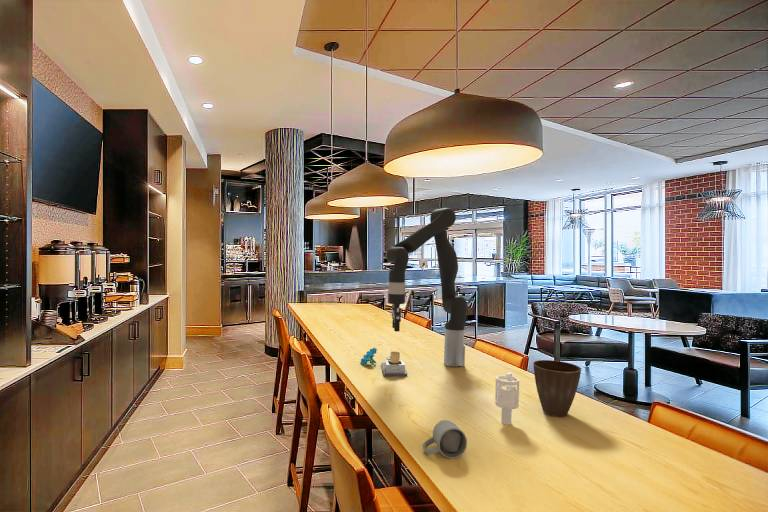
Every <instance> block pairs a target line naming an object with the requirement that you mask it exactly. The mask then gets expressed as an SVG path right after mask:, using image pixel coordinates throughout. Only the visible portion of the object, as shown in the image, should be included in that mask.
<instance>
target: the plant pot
mask: <svg viewBox="0 0 768 512" xmlns="http://www.w3.org/2000/svg"><path fill="white" fill-rule="evenodd" d="M532 367H533V372H534V373H533V374H534V380H535V381H534V382H535V386H536V391H537V395H538V399H539V402H540V405H541V409H542V411H543V413H544V414H546V415H548V416H550V417H551V416H552V417H555V416H558V417H557V418H564V417H563V416H565V417H567V415H568V413H569V411H570V410H571V407H572V404H573V402H574V400H575V396H576V394H577V390H578V387H579V384H580V383H579V382H580V379H581V373H582V368H581V367H580V366H578V365H576V364H574V363H570V362H567V361H566V362H565V361H562V360H561V361H559V360H554V359H551V360H550V359H541V360H540V359H539V360H536V361H534V362H533V363H532Z"/></svg>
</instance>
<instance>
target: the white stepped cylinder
mask: <svg viewBox="0 0 768 512" xmlns="http://www.w3.org/2000/svg"><path fill="white" fill-rule="evenodd" d="M503 387H506V389H505V388H503ZM494 395H495V398H494V402H495V403H494V404H495V406H496V407H498V408H501V413H500V414H501V420H500V421H501V422H500V423H501V424H503V425H506V426H507V425H508V426H509V425H512V413H513V412H512V411H513V410H516V409H518V408H519V404H520V403H519V401H520V399H519V398H520V379H519V378H518V377H516V376H513V373H512V372H509V371H508V372H507V373H506V375H504V374H503V375H497V376H496V377H495V394H494Z"/></svg>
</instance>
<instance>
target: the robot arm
mask: <svg viewBox="0 0 768 512" xmlns="http://www.w3.org/2000/svg"><path fill="white" fill-rule="evenodd" d="M429 218H430V221H429V222H430V223H428V224H427V225H424V226H422V227H420V228H418V229H416V230H415V231H413V232H412V233H410V234H409V235H408V236H407V237H406V238H404V239H403V240H402V241H401V240H400V242H398V243H396V244H394V245H392V246H391V247H389V249H388V250H387V252H386V260H387V261H388V262H390V263H393V264H394V265H393V268H391V269H390V270H389V273H388V287H387V288H388V289H387V303H388V304H390V305H391V308H390V309H391V318H392V326H391V327H392V328H393V329H394V332H400V328H401V327H400V326H401V325H400V324H401V322H402V320H401V319H402V308H401V307H400V305H405V303H406V271H407V267H408V263H409V258H410V257H409V254H411V253H414V252H416V251H417V250H418V249H420V248H421V247H422V246H423V245H425V244H426V243H427V242H429V240H431V239H432V238H434V244H435V248H436V250H435V251H436V255H437V264H438V271H439V276H440V277H439V278H440V285H441V286H440V287H441V303H442V304H441V305H442V309H443V310H444V312H446V313H447V314H449V315H450V316H449V317H450V318H449V320H447V321H446V322H445V323H444V344H443V345H444V347H443V348H444V349H443V350H444V353H443V365H444V364H445V365H444V366H446V365H448V366H447V367H450V366H454V367H453V368H458V367H457V366H461V367H465V365H466V364H465V361H466V357H465V356H466V346H465V325H467V317H468V303H467V300H466V299H465V298H464V297H463V296H461V295H457V294H456V293H457V292H456V288H455V287H456V286H455V284H456V278H457V275H458V273H459V272H458V271H459V263H458V261H459V260H458V257H457V252H456V250H455V248H454V247H453V244H451V242H450V240H449V238H448V235H447V229H448V228H450V227H452V226H453V225H454V224H455V222H456V220H457V216H456V213H455V211H454V210H453V209H452V208H448V207H443V208H437V209H435V210H432V211H431V214H430V217H429ZM455 366H456V367H455Z"/></svg>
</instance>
